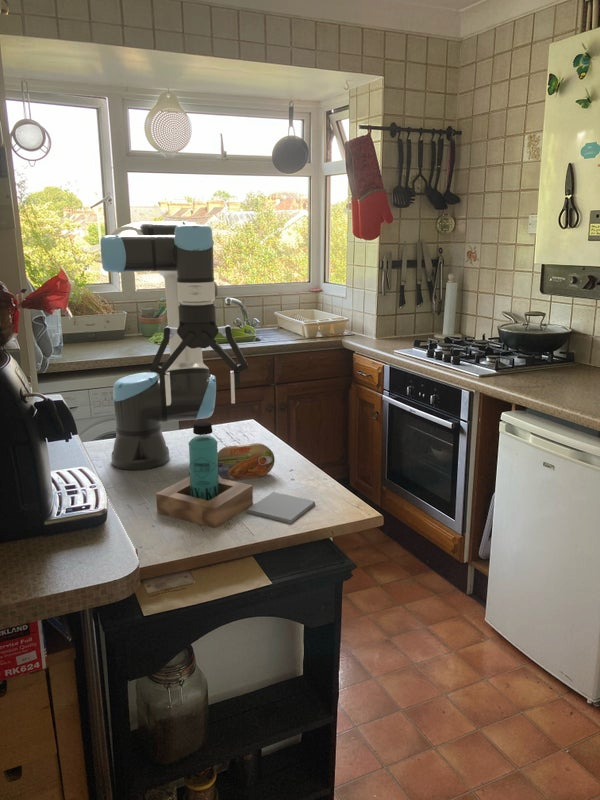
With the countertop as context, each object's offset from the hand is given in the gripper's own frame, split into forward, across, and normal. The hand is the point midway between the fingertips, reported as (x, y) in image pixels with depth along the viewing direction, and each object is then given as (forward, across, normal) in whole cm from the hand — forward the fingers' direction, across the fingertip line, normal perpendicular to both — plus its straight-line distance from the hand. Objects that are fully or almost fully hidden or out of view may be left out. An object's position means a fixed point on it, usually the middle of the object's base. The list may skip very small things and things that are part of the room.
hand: (201, 403), depth 135 cm
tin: (+25, +9, +18) cm, 32 cm away
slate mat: (+24, +17, -2) cm, 30 cm away
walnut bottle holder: (+24, 0, 0) cm, 24 cm away
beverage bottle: (+25, 0, 0) cm, 25 cm away
